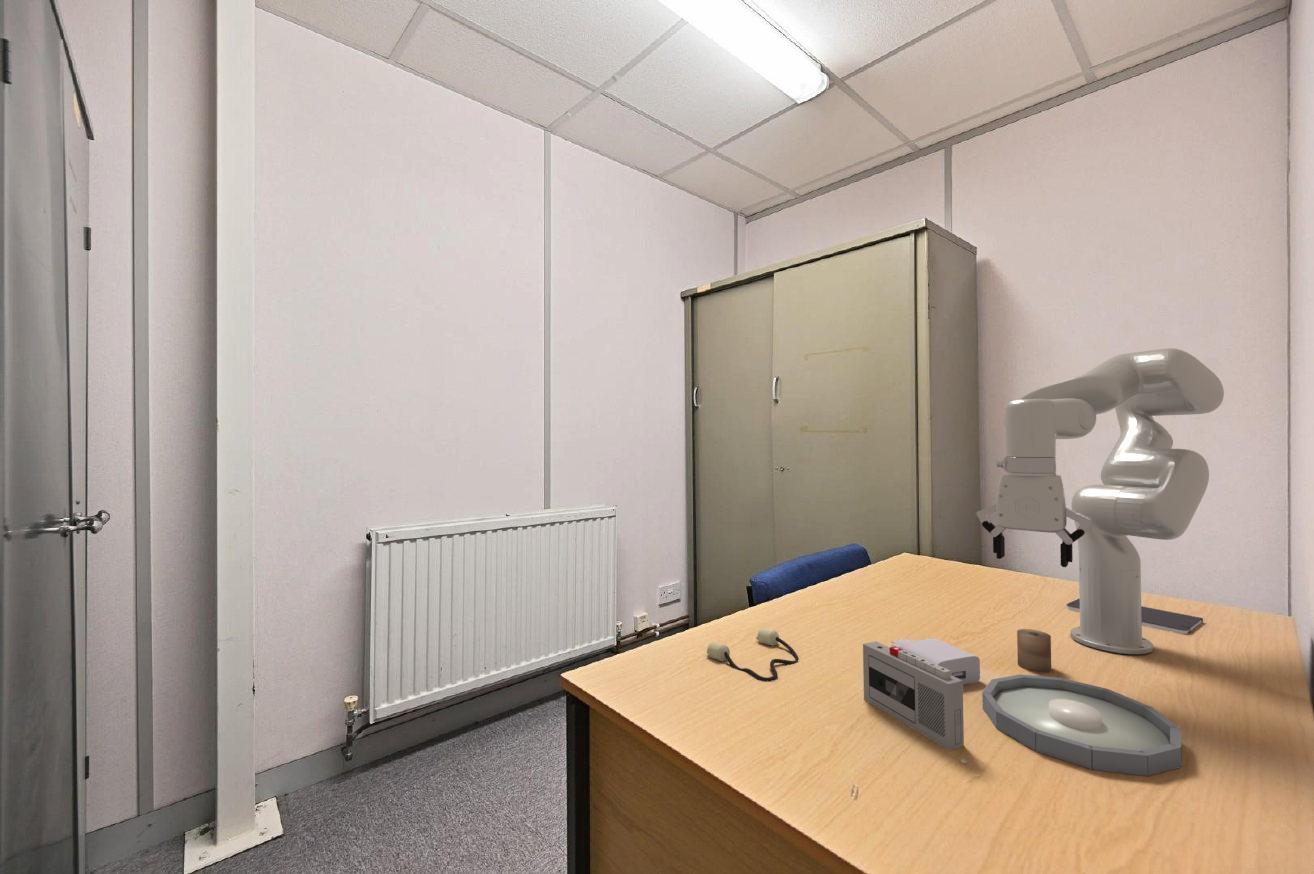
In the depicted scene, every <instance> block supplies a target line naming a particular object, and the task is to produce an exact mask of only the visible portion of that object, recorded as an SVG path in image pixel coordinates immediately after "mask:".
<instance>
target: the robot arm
mask: <svg viewBox="0 0 1314 874" xmlns="http://www.w3.org/2000/svg"><path fill="white" fill-rule="evenodd" d="M1224 395H1225V390H1224V386H1223V384H1222V381H1221V379H1220V378H1219V377H1218V376H1217V375H1216V374H1215V372H1213V371H1212V370H1211V369H1210V368H1209V367H1207V365H1205V364H1204V363H1203V362H1201V361H1200V360H1199V359H1198V358H1197V357H1196V356H1193V355H1192V354H1190V353H1189V352H1187V351H1184V350H1182V349H1178V348H1173V347H1170V348H1169V347H1168V348H1160V349H1153V350H1144V351H1143V350H1142V351H1136V352H1129V353H1122V354H1118V355H1115V356H1112V357H1110V358H1108V359H1106V360H1105V361H1103V362H1102V363H1100V364H1098V365H1097V366H1094V367H1092V368H1091V369H1090V370H1088V371H1087V372H1085V373H1083V374H1081V375H1078V376H1075V377H1072V378H1067V379H1065V380H1062V381H1060V382H1057V383H1053V384H1051V385H1050V384H1049V385H1047V386H1043V387H1041V388H1037V389H1036V390H1031V391H1030V392H1028V393H1025V394H1023V396H1020V397H1018V399H1014V400H1011V401H1009V402H1007V403H1006V405H1005V407H1004V415H1003V418H1002V419H1003V420H1002V421H1003V422H1002V423H1003V426H1004V431H1005V432H1004V433H1005V436H1004V438H1005V439H1004V441H1005V448H1004V449H1005V457H1004V458H1003V459H1001V460H999V459H996V468H1001V469H1003V470H1004V472H1005V473H1001V474H1000V476H999V480H998V485H997V486H998V487H997V494H996V504H993V505H990V506H988V507H986V508H982V509H980V510H978V511H976V512H975V515H976V516H977V518H978V520H979V522H980V523H981V526H982V527H983V528H984V529H985V530H986V532H988V533H989V534H990V535H991V537H992V552H993V553H994V554H996V556H995V557H996V559H998V560H1001V559H1003V558H1004V557H1005V556H1006V554H1005V553H1006V550H1005V549H1006V547H1005V546H1006V545H1005V543H1006V542H1005V536H1004V535H1003V532H1005V530H1007V529H1008V530H1014V531H1015V530H1018V531H1027V532H1028V531H1029V532H1040V533H1049V534H1050V533H1051V534H1052V533H1054V534H1056V536H1058V538H1059V539H1060V540H1061V542H1062V543H1060V544H1059V545H1060V547H1059V549H1060V551H1059V552H1060V567H1062V568H1067V567H1068V565H1069V563H1073V559H1074V558H1073V544H1074V542H1076V541H1077V544H1078V545H1077V547H1078V581H1079V582H1078V585H1079V589H1078V590H1079V591H1078V592H1079V598H1080V612H1079V626H1076V627H1072V629H1070V637H1071V638H1072V639H1073V640H1075V642H1077V643H1079V644H1081V645H1083V646H1087V647H1091V648H1093V649H1095V650H1096V649H1097V650H1100V651H1105V652H1111V653H1115V654H1123V655H1146V654H1147V655H1148V654H1150V653H1152V652H1153V651H1154V645H1153V643H1152V642H1151V641H1150V639H1148V638H1145V637H1143V628H1142V627H1143V626H1142V613H1141V606H1142V572H1141V571H1142V569H1141V567H1142V565H1141V564H1142V563H1141V557H1140V553H1139V552H1138V550H1137V548H1136V547H1135V545H1134V544H1133V542H1132V541H1131V540H1130V539H1129V537H1128V536H1130V537H1138V538H1145V539H1146V538H1147V539H1153V540H1154V539H1155V540H1161V541H1163V540H1164V541H1165V540H1166V541H1168V540H1175V539H1178V538H1179V537H1181V536H1182V535H1184V533H1185V532H1186V530H1187V529H1188V528H1189V525H1190V524H1191V521H1192V520H1193V517H1194V516H1195V514H1196V511H1197V509H1198V507H1199V506H1200V503H1201V502H1202V499H1203V498H1204V495H1205V493H1206V491H1207V489H1208V485H1209V481H1210V480H1209V479H1210V470H1209V465H1208V462H1207V461H1206V459H1205V458H1204V457H1203V456H1202V455H1201V454H1200V453H1199V452H1196V451H1195V450H1190V449H1185V448H1173V446H1174V445H1173V444H1174V440H1173V437H1172V435H1171V434H1170V433H1169V431H1168V430H1167V428H1165V427H1164V426H1163V425H1162V424H1160V423H1159V422H1157V421H1156V420H1155V419H1154V417H1157V416H1158V417H1160V416H1184V415H1186V416H1187V415H1190V416H1191V415H1203V414H1209V413H1211V412H1213V411H1216V410H1217V409H1218V408H1219V407H1220V406H1221V405H1222V403H1223V400H1224V398H1225V397H1224ZM1114 409H1115V413H1116V417H1117V421H1118V425H1119V430H1120V435H1119V437H1118V440H1117V441H1116V443H1115V444H1114V446H1113V448H1112V449H1111V451H1110V453H1109V454H1108V456H1107V458H1106V459H1105V462H1104V463H1103V466H1102V468H1101V470H1100V479H1101V482H1102V484H1090V485H1086V486H1083V487H1081V488H1079V489H1078V490H1077V491H1076V492H1075V493H1074V494H1073V496H1072V498H1071V509H1070V508H1068V507H1067V504H1066V496H1065V491H1064V489H1065V488H1064V484H1063V480H1062V476H1061V475H1059V474H1058V475H1057V448H1056V447H1057V443H1056V442H1057V440H1074V439H1079V438H1083V437H1085V436H1087V435H1089V434H1090V433H1091V432H1092V430H1094V428H1095V426H1096V423H1097V415H1101V414H1105V413H1107V412H1111V411H1112V410H1114ZM993 513H995V521H996V524H997V525H995V524H993V523H992V522H991V521H990V519H989V517H988V516H989V515H991V514H993ZM1068 518H1069V519H1070V520H1073V521H1074V524H1075V529H1076V530H1074V531H1073V532H1072V533H1071V532H1070V531H1069V530H1067V529H1066V526H1067V519H1068Z"/></svg>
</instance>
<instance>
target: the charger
mask: <svg viewBox="0 0 1314 874" xmlns="http://www.w3.org/2000/svg"><path fill="white" fill-rule="evenodd" d="M890 643H892V644H891V646H890V647H893V646H896V647H898V648H900V649H903V650H905V651H907V652H909V653H912V654H914V655H916V656H919V657H921V658H923V659H925V660H928V661H930V662H932V663H934V664H937V665H939V666H941V667H943V668H946V669H948V670H950V671H951V675H952V676H954V677H956V678H958V679H961V680H963V685H968V684H973V683H977V682H979V681H980V679H981V665H980V663H981V662H980V661H981V660H980V658H979V657H978V656H976V655H974V654H972V653H969V652H968V651H966V650H963V649H961V648H958V647H957V646H954V645H952V644H949V643H947V642H945V641H943V640H940V639H939V638H936V637H935V638H932V637H931V638H926V639H919V640H912V639H909V638H905V639H899V638H898V639H897V640H896V641H895V640H890Z"/></svg>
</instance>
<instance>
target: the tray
mask: <svg viewBox="0 0 1314 874" xmlns="http://www.w3.org/2000/svg"><path fill="white" fill-rule="evenodd" d="M981 695H982V697H981V698H982V710H983V711H984V713H985V714H986V715H987V717H988V718H989V720H990V722H991V723H992V724H993V725H994V727H995V729H996V730H999V731H1000V732H1002V733H1004V734H1005V735H1006V736H1009V737H1010V738H1012V739H1014V740H1016V741H1018V742H1019V743H1021V744H1023V745H1024V746H1026V747H1028V748H1029V749H1031V750H1033V751H1034V752H1036V753H1040V754H1044V755H1046V756H1049V757H1052V758H1055V759H1058V760H1061V761H1065V762H1068V763H1071V764H1073V765H1077V766H1080V767H1083V768H1085V769H1088V770H1089V769H1090V770H1092V771H1099V772H1100V771H1101V772H1110V773H1117V774H1118V773H1119V774H1126V775H1127V774H1128V775H1136V776H1144V777H1149V776H1154V775H1157V774H1161V773H1164V772H1168V771H1172V770H1175V769H1179V768H1182V733H1181V732H1182V730H1181V728H1180V727H1179V726H1178V725H1177V724H1175V723H1174V722H1172V721H1171V720H1170V719H1168V717H1166V716H1165V715H1164V714H1161V712H1159V711H1158V710H1157V709H1156V708H1154V707H1152V706H1150V705H1148V704H1145V703H1143V702H1141V701H1138V700H1137V699H1135V698H1131V697H1128V696H1126V695H1123V694H1121V693H1119V692H1116V691H1114V690H1111V689H1108V688H1105V687H1101V686H1098V685H1093V684H1089V683H1088V684H1087V683H1085V682H1080V681H1078V680H1077V681H1075V680H1072V679H1068V678H1064V677H1058V676H1057V677H1056V676H1046V675H1034V674H1033V675H1032V674H1031V675H1030V674H1022V673H1021V674H1014V675H1009V676H1005V677H998V678H993V679H991V680H990V681H989V682H988V684H987V685H986V686H985V688H984V689H983V690H982V692H981Z"/></svg>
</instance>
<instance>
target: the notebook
mask: <svg viewBox="0 0 1314 874" xmlns="http://www.w3.org/2000/svg"><path fill="white" fill-rule="evenodd" d="M1065 605H1066V606H1067V610H1069V611H1074V612H1078V613H1080V597H1079V598H1077V599H1075V600H1073V601H1070V602H1068V603H1066V604H1065ZM1141 613H1142V627H1147V626H1149V627H1148V628H1151V627H1152V628H1151V629H1157V630H1162V631H1165V630H1168V631H1167V632H1170V631H1172V633H1174V634H1179V635H1180V634H1181V635H1187V634H1190V633H1191V631H1192V630H1194V629H1195V628H1197V627H1198V626H1199V625H1200V624H1201V622H1203V623H1204V618H1203V617H1199V616H1193V615H1188V614H1184V613H1178V612H1173V611H1167V610H1163V609H1158V608H1157V609H1156V608H1153V607H1147V606H1142V605H1141Z"/></svg>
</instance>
